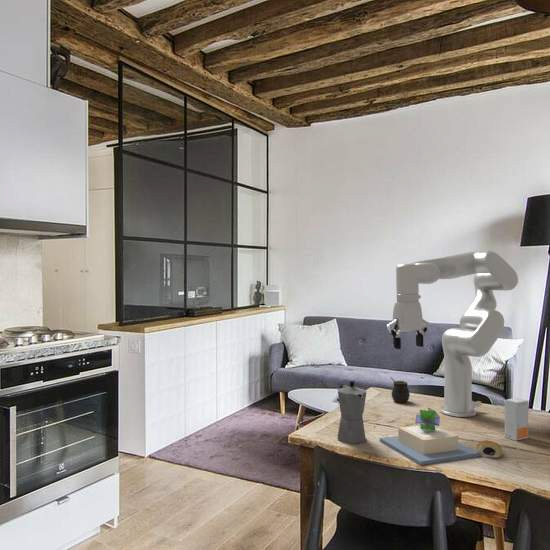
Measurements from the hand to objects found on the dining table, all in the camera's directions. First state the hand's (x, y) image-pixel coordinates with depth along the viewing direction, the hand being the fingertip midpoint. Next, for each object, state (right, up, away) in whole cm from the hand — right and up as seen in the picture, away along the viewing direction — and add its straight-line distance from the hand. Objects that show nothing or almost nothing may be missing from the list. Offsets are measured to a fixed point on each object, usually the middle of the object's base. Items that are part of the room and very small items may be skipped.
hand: (408, 347), depth 169 cm
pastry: (+15, -26, -30) cm, 43 cm away
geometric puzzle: (-2, -21, -27) cm, 34 cm away
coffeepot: (-23, -26, -18) cm, 39 cm away
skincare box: (+29, -26, -17) cm, 43 cm away
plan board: (-2, -26, -27) cm, 37 cm away
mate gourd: (+4, -26, +27) cm, 38 cm away
